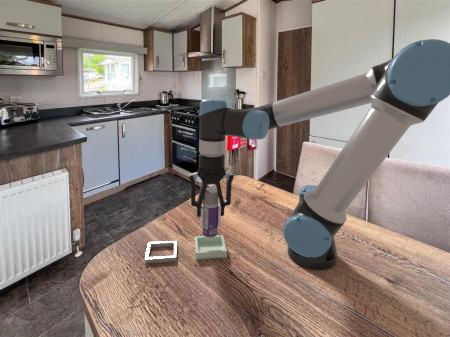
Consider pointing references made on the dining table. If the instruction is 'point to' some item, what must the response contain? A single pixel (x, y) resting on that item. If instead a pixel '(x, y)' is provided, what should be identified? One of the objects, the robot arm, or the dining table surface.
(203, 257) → the tray
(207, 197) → the container
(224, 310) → the dining table surface
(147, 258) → the collar
